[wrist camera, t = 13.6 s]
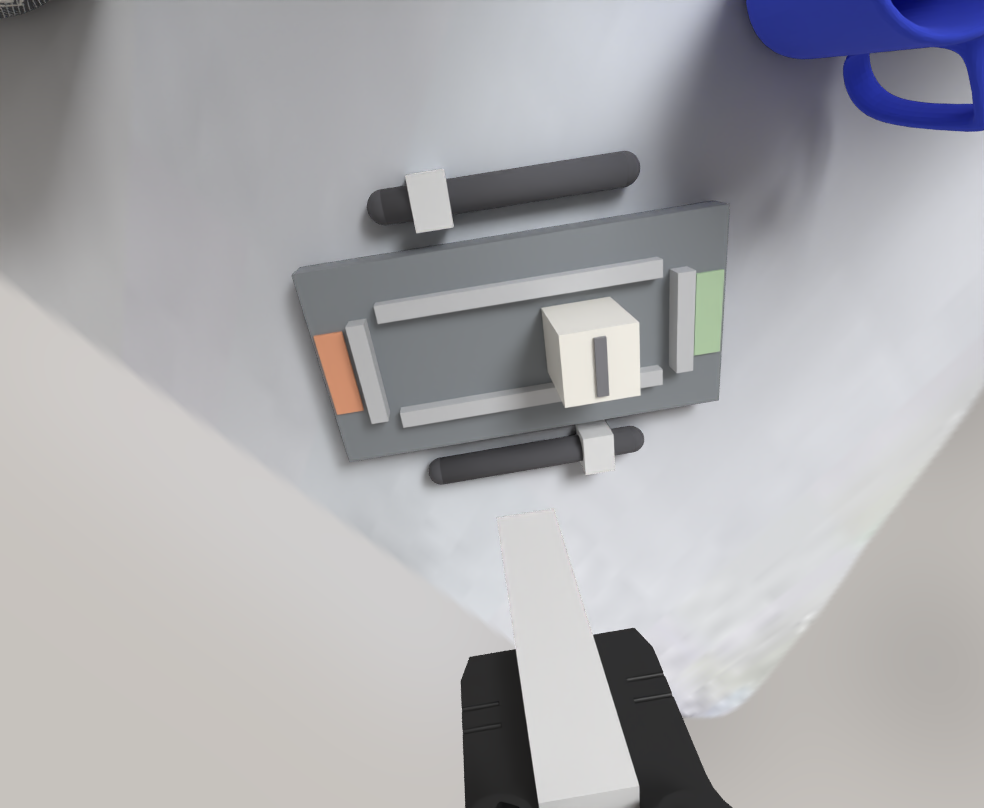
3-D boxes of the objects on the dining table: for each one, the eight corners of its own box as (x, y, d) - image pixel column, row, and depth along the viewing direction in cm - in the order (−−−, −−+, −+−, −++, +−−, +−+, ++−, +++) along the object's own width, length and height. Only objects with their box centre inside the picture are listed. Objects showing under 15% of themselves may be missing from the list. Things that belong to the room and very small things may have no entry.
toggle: (540, 307, 30) (559, 336, 26) (609, 296, 30) (640, 323, 26) (547, 371, 32) (566, 409, 27) (612, 360, 32) (641, 397, 27)
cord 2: (425, 448, 36) (424, 466, 34) (638, 413, 36) (649, 428, 34) (432, 482, 37) (432, 501, 35) (639, 447, 37) (650, 464, 36)
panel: (300, 267, 30) (285, 279, 27) (712, 200, 31) (740, 206, 28) (354, 446, 35) (346, 472, 33) (704, 387, 36) (727, 408, 33)
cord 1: (363, 181, 28) (357, 183, 27) (632, 138, 29) (647, 137, 27) (375, 234, 30) (371, 240, 28) (634, 193, 30) (647, 196, 28)
